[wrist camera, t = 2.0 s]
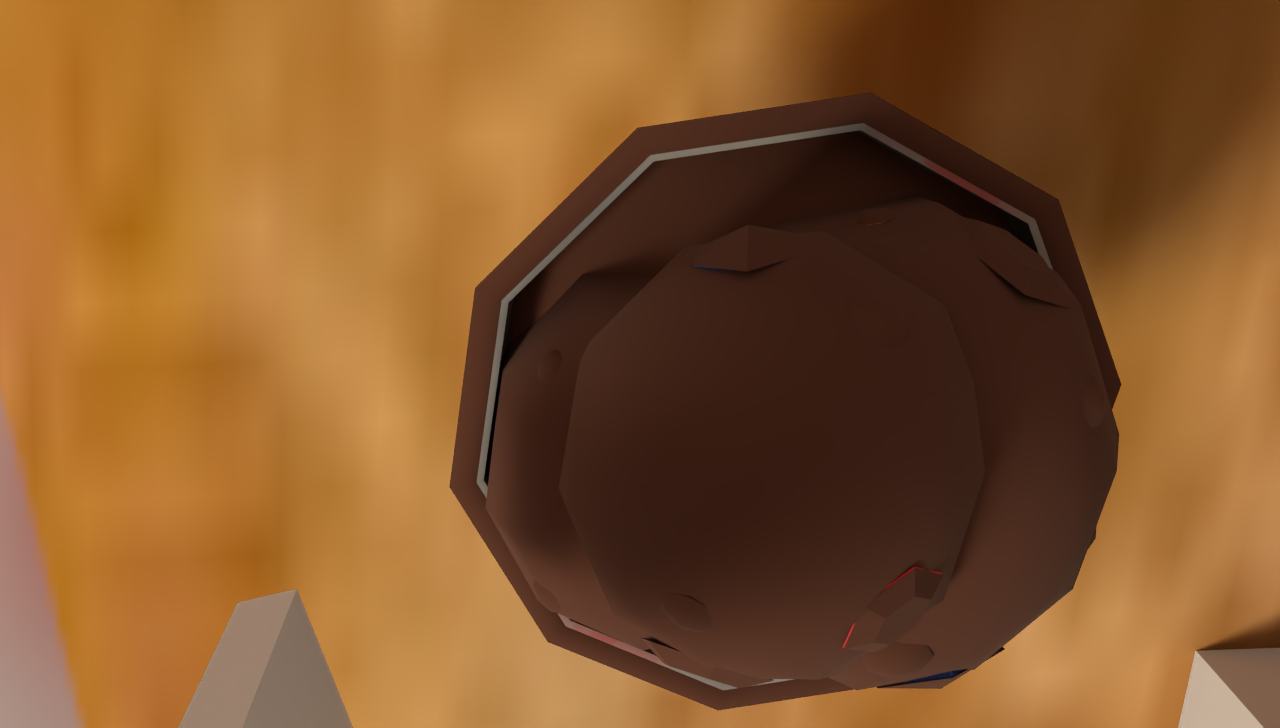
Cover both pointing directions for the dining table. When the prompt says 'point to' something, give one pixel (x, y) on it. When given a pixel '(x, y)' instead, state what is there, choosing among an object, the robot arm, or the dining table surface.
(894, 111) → the ice cream bowl
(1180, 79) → the dining table surface
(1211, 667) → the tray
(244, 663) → the robot arm
